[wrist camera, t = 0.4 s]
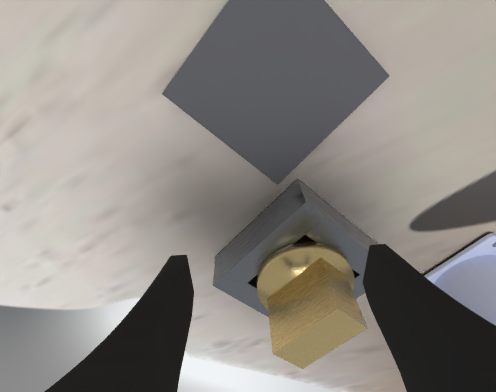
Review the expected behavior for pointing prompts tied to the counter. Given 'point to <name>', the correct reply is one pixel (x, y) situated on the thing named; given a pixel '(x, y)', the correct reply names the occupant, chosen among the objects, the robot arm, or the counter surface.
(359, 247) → the housing
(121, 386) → the robot arm
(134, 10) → the counter surface
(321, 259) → the end cover
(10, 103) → the counter surface
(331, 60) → the mat
